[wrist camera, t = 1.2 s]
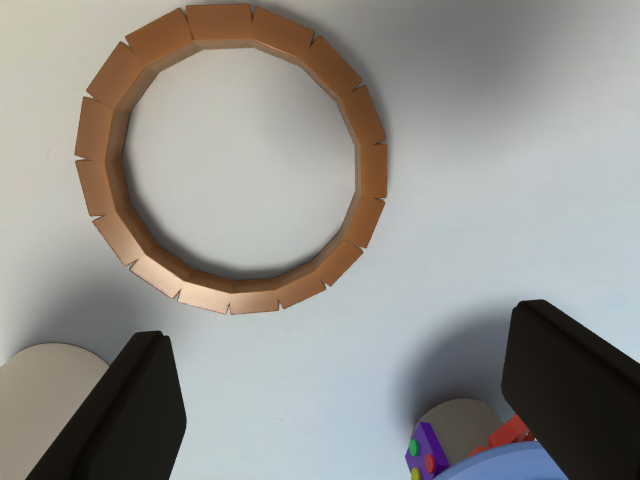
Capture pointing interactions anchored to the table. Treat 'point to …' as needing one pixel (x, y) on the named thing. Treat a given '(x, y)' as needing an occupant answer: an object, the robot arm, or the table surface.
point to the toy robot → (476, 446)
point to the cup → (41, 401)
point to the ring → (110, 129)
